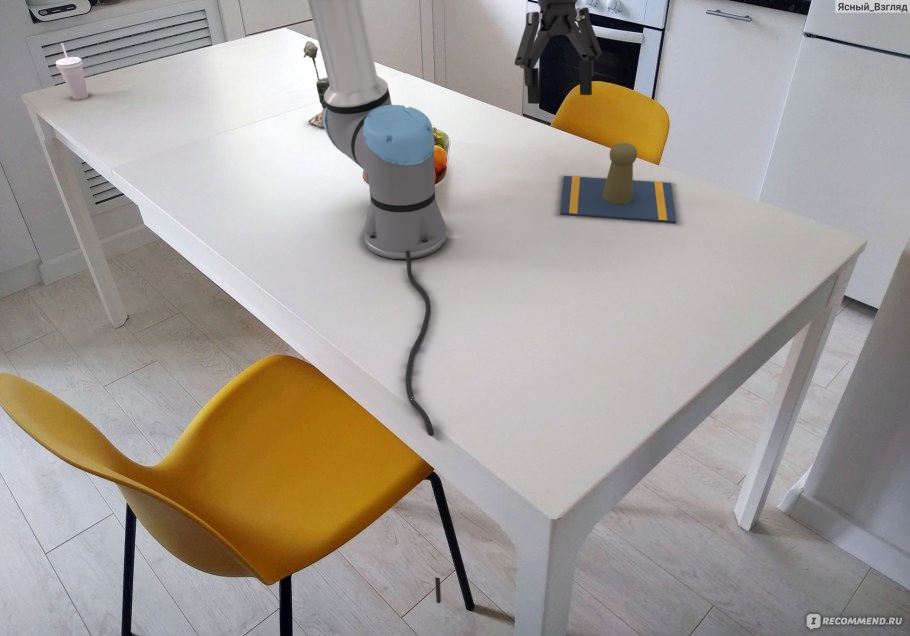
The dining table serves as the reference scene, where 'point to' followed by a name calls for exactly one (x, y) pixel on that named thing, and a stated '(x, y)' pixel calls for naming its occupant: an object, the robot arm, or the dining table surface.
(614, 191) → the cork
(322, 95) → the stone sculpture
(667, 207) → the towel
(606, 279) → the dining table surface
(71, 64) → the smoothie
